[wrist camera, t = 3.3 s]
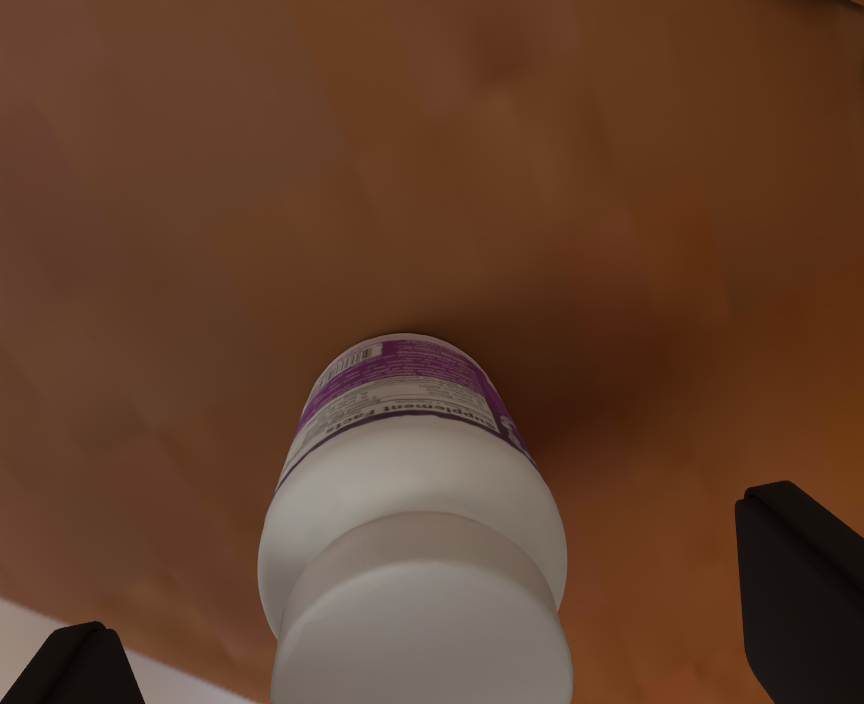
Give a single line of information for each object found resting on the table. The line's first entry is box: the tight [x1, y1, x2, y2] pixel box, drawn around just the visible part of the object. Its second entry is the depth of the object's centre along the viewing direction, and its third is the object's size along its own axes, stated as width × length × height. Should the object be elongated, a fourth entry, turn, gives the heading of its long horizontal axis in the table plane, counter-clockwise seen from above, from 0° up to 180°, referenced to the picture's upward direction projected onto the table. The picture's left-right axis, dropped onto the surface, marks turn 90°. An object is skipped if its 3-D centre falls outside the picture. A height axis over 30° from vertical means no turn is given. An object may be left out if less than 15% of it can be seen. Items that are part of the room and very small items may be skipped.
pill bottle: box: [258, 333, 573, 704], centre depth 13 cm, size 5×5×10 cm
